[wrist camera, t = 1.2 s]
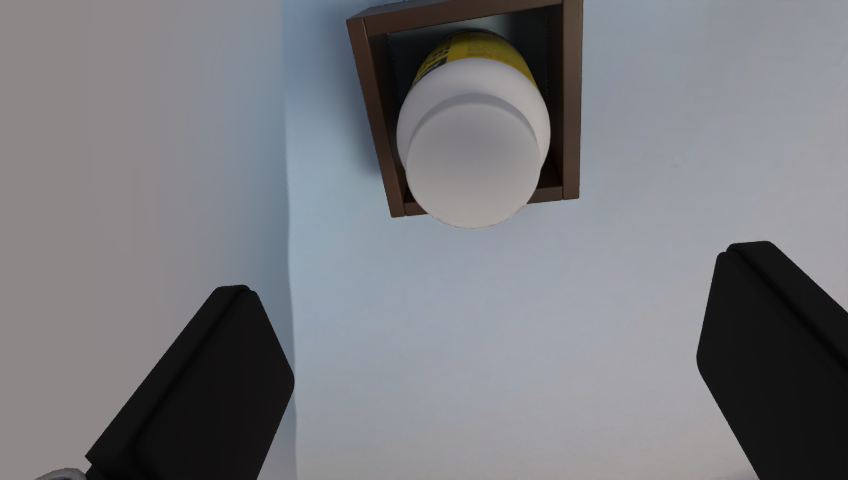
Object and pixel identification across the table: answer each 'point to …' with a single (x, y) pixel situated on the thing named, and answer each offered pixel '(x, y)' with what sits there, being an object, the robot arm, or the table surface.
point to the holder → (452, 3)
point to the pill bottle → (473, 131)
